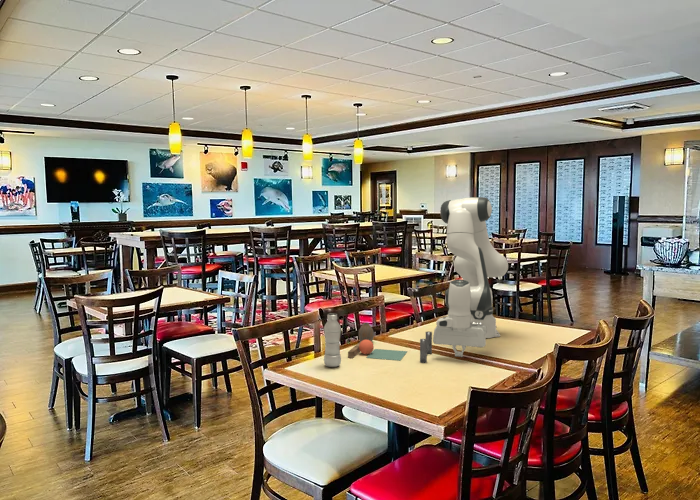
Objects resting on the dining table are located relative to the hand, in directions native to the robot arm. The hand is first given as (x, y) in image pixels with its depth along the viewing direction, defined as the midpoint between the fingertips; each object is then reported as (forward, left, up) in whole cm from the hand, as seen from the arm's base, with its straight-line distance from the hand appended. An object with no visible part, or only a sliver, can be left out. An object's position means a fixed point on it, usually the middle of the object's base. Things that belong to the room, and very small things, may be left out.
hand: (459, 356), depth 205 cm
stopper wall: (0, -42, -2) cm, 42 cm away
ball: (+1, -37, +1) cm, 38 cm away
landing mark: (0, -29, -2) cm, 29 cm away
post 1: (+6, -13, -2) cm, 15 cm away
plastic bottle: (+22, -45, -2) cm, 50 cm away
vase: (-18, -43, -2) cm, 47 cm away
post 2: (-7, -13, -2) cm, 15 cm away
